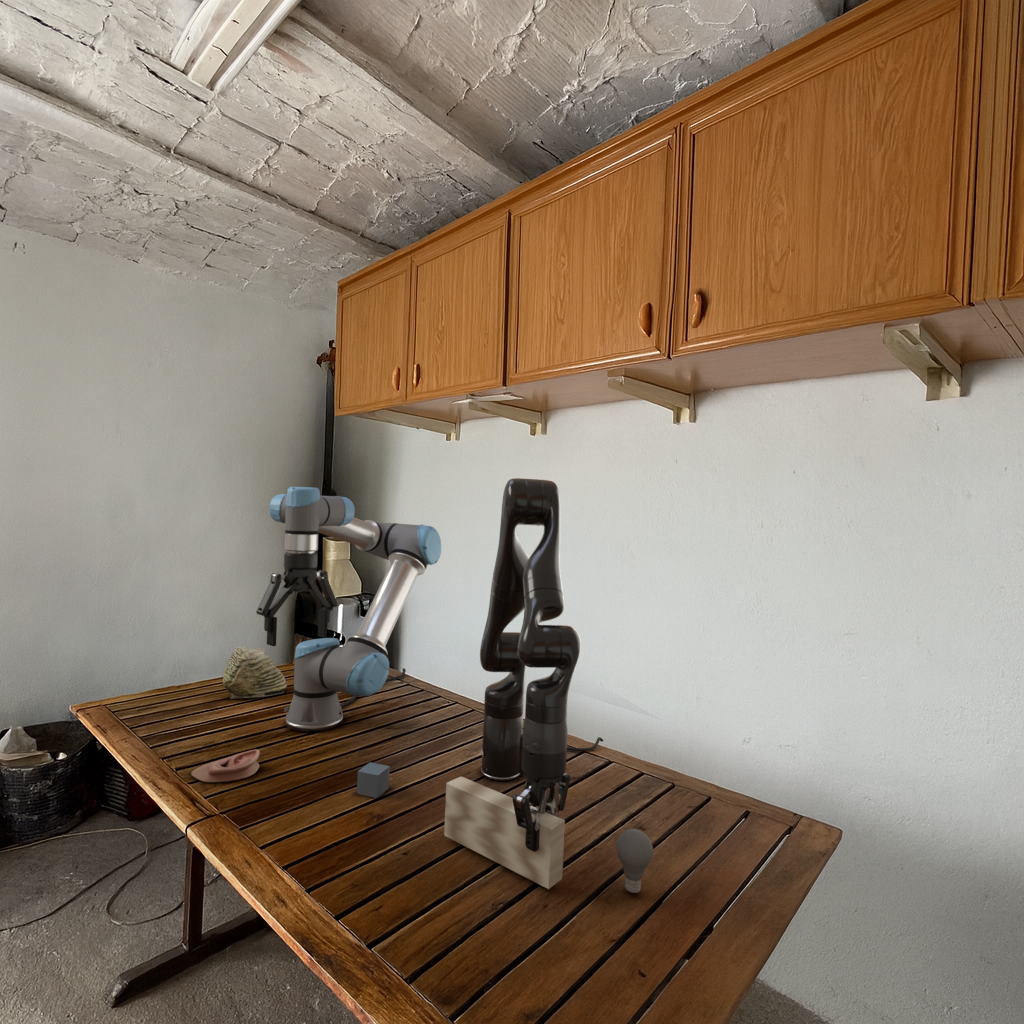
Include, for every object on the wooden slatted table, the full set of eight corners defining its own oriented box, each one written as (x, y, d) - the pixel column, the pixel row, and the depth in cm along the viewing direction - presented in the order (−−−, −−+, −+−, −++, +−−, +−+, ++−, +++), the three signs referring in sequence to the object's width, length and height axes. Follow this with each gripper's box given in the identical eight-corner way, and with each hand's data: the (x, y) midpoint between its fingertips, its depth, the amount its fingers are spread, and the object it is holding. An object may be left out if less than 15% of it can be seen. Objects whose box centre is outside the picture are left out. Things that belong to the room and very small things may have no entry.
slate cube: (369, 784, 140) (370, 762, 140) (389, 788, 139) (389, 766, 139) (356, 794, 136) (357, 770, 136) (377, 798, 134) (378, 775, 134)
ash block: (443, 835, 118) (446, 782, 118) (458, 827, 121) (460, 776, 121) (548, 889, 103) (551, 829, 103) (562, 878, 106) (565, 820, 106)
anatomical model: (182, 760, 139) (216, 741, 150) (181, 778, 139) (216, 758, 150) (236, 768, 136) (267, 748, 147) (235, 786, 136) (266, 765, 147)
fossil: (218, 695, 195) (220, 647, 195) (278, 685, 208) (279, 640, 207) (228, 703, 189) (230, 653, 188) (289, 692, 201) (290, 645, 201)
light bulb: (610, 879, 108) (613, 822, 108) (644, 879, 109) (647, 822, 109) (619, 902, 102) (622, 840, 102) (655, 901, 103) (658, 840, 103)
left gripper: (335, 548, 162) (332, 631, 163) (242, 552, 143) (239, 645, 143) (353, 551, 158) (350, 636, 158) (260, 555, 138) (256, 652, 139)
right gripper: (550, 726, 115) (546, 820, 115) (500, 748, 103) (496, 852, 104) (586, 738, 110) (581, 835, 110) (537, 762, 99) (532, 871, 99)
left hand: (297, 640), depth 151 cm, fingers open, 13 cm apart
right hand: (540, 843), depth 107 cm, fingers closed on ash block, 4 cm apart
